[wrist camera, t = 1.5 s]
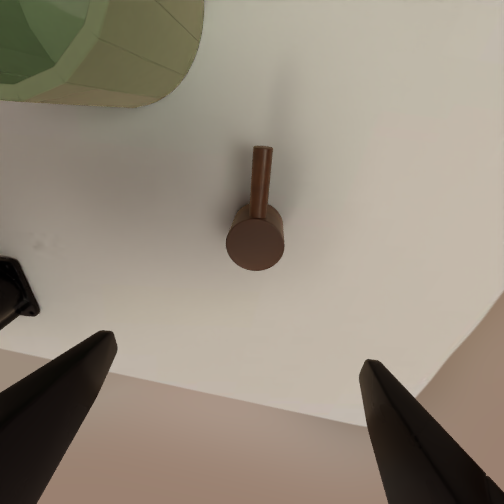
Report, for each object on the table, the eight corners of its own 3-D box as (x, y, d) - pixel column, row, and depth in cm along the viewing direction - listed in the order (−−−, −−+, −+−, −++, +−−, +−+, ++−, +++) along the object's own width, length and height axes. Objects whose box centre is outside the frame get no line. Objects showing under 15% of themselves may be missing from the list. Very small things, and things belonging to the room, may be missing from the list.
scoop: (279, 250, 20) (280, 273, 17) (232, 245, 20) (225, 268, 17) (294, 144, 16) (298, 151, 13) (235, 140, 16) (227, 145, 13)
